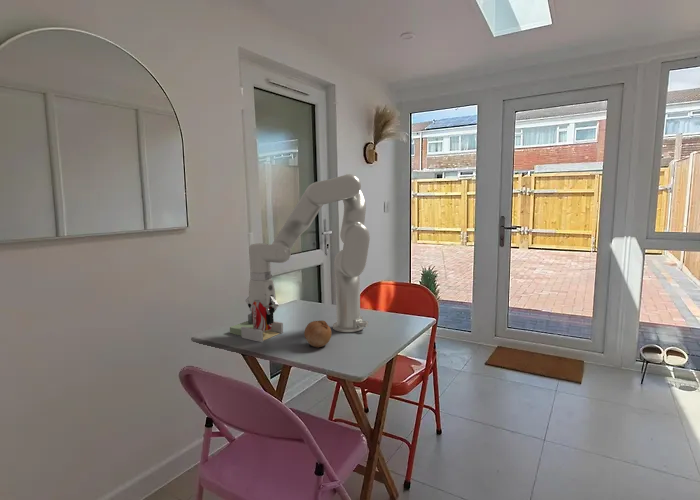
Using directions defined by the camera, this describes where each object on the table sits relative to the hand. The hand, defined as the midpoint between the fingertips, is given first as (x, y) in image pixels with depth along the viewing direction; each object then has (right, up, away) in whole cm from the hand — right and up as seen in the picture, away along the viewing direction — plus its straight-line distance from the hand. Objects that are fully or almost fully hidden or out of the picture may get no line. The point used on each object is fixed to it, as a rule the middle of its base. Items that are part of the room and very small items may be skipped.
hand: (262, 322), depth 149 cm
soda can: (0, -3, 0) cm, 3 cm away
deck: (-2, -5, +5) cm, 7 cm away
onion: (+22, -6, -11) cm, 26 cm away
